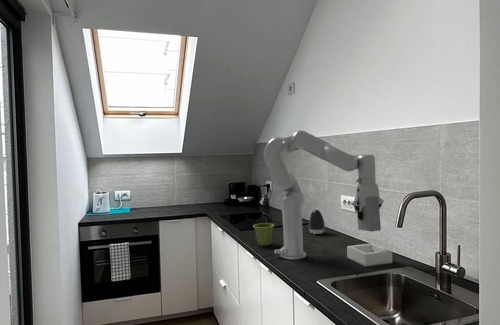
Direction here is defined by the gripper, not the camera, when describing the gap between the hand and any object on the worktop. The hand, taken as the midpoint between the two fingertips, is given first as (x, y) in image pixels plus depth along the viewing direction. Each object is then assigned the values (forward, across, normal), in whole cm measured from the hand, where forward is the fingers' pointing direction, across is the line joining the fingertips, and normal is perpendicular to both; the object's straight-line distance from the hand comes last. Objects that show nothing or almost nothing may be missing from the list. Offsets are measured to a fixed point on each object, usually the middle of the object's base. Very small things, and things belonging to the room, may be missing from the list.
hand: (368, 218), depth 164 cm
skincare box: (+6, 0, 0) cm, 6 cm away
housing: (+20, 0, 0) cm, 20 cm away
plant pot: (+20, -37, +46) cm, 62 cm away
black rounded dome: (+20, +2, +59) cm, 62 cm away
